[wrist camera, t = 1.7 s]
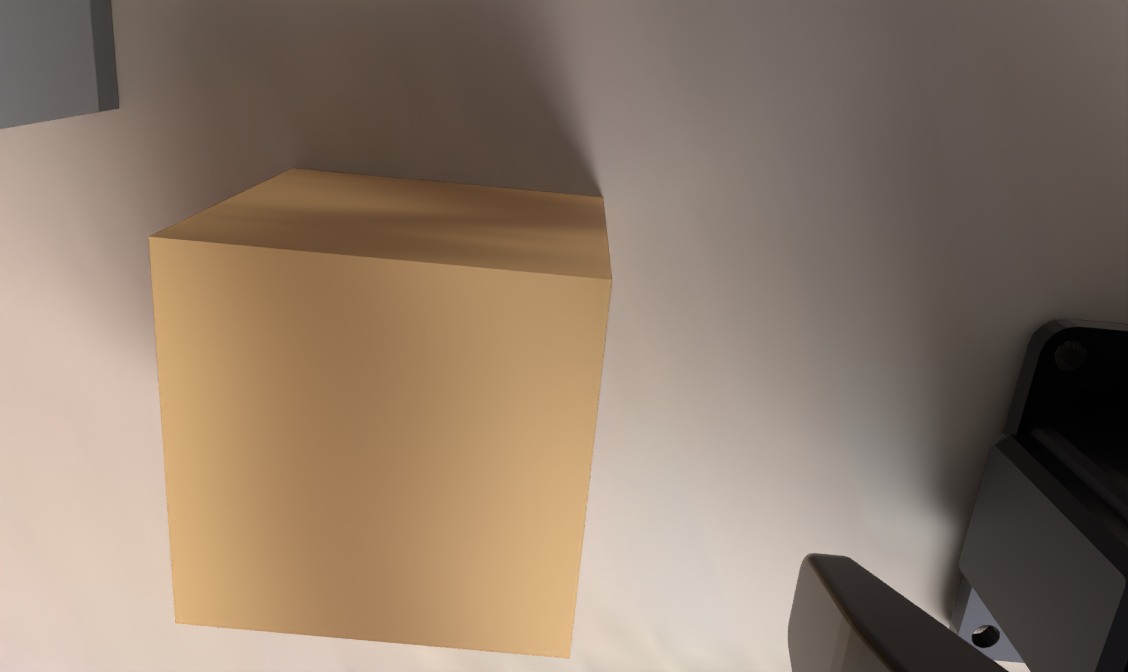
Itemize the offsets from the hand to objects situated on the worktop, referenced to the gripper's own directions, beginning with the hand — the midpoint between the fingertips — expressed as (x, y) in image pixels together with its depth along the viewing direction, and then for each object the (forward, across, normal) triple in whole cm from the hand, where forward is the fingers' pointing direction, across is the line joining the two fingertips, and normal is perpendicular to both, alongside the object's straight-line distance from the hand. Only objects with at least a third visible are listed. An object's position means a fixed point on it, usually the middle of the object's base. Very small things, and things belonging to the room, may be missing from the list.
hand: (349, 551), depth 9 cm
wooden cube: (+7, 0, 0) cm, 7 cm away
